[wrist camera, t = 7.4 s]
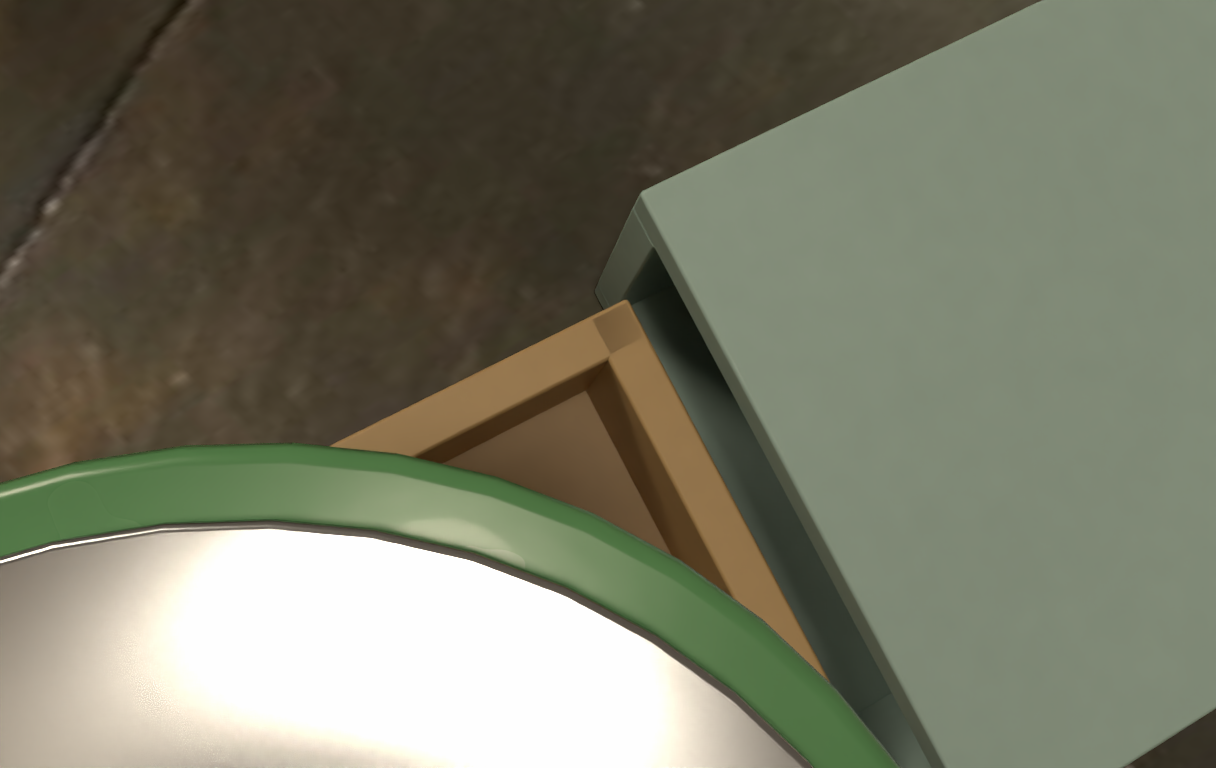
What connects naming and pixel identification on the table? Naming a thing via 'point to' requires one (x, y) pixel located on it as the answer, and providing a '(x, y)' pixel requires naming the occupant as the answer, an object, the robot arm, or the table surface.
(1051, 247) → the cabinet
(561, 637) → the green can
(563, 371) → the drawer
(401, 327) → the table surface
